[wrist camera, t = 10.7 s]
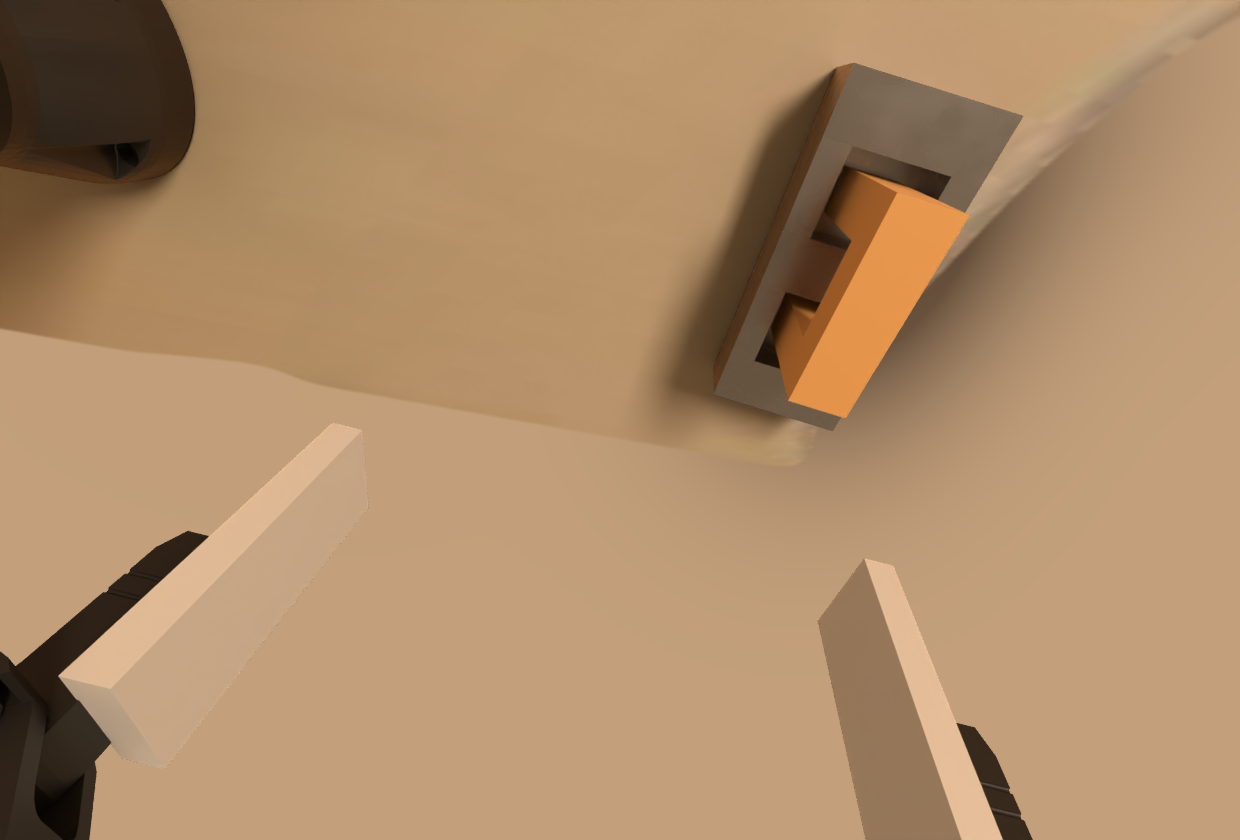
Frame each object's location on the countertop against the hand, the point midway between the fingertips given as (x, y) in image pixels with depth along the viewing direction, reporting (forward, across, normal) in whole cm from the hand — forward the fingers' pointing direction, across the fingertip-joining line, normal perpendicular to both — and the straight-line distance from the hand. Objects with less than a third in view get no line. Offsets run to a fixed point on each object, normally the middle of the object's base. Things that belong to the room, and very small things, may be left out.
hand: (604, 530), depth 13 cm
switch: (+23, +10, +3) cm, 25 cm away
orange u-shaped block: (+23, +10, +3) cm, 25 cm away
